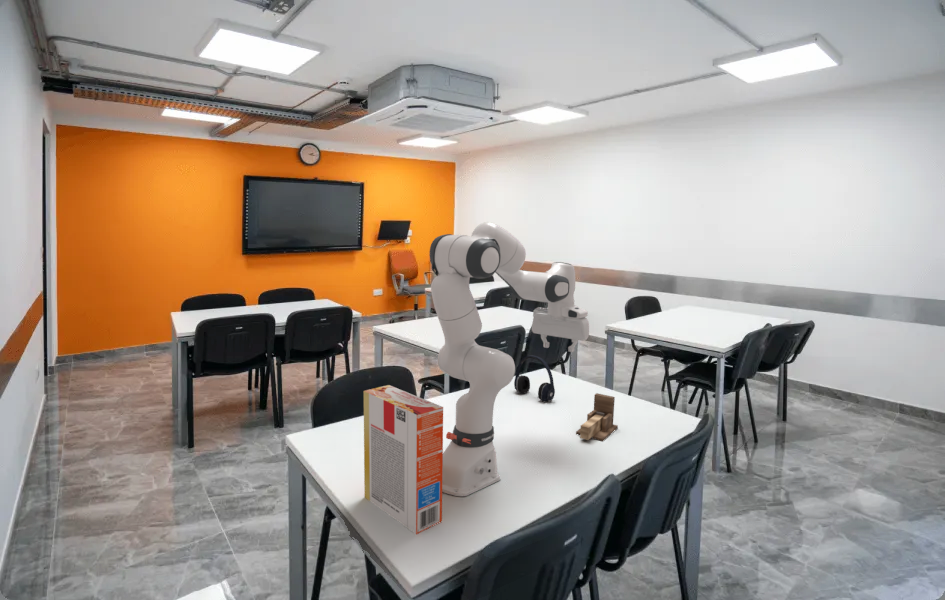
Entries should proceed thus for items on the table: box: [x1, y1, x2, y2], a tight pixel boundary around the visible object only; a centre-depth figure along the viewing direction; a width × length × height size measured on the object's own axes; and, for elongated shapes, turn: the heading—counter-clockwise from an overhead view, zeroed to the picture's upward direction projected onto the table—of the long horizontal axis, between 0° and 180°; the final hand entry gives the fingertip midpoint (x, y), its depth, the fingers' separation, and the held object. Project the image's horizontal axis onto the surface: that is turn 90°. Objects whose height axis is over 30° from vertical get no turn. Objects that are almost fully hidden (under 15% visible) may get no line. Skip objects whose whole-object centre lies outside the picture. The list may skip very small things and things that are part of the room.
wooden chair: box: [575, 392, 619, 442], centre depth 189 cm, size 15×10×12 cm, turn 145°
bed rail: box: [579, 412, 605, 441], centre depth 186 cm, size 15×3×5 cm, turn 145°
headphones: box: [513, 354, 556, 402], centre depth 226 cm, size 20×7×18 cm, turn 42°
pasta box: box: [363, 384, 444, 535], centre depth 134 cm, size 23×8×30 cm, turn 44°
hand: (558, 349), depth 179 cm, fingers open, 8 cm apart
